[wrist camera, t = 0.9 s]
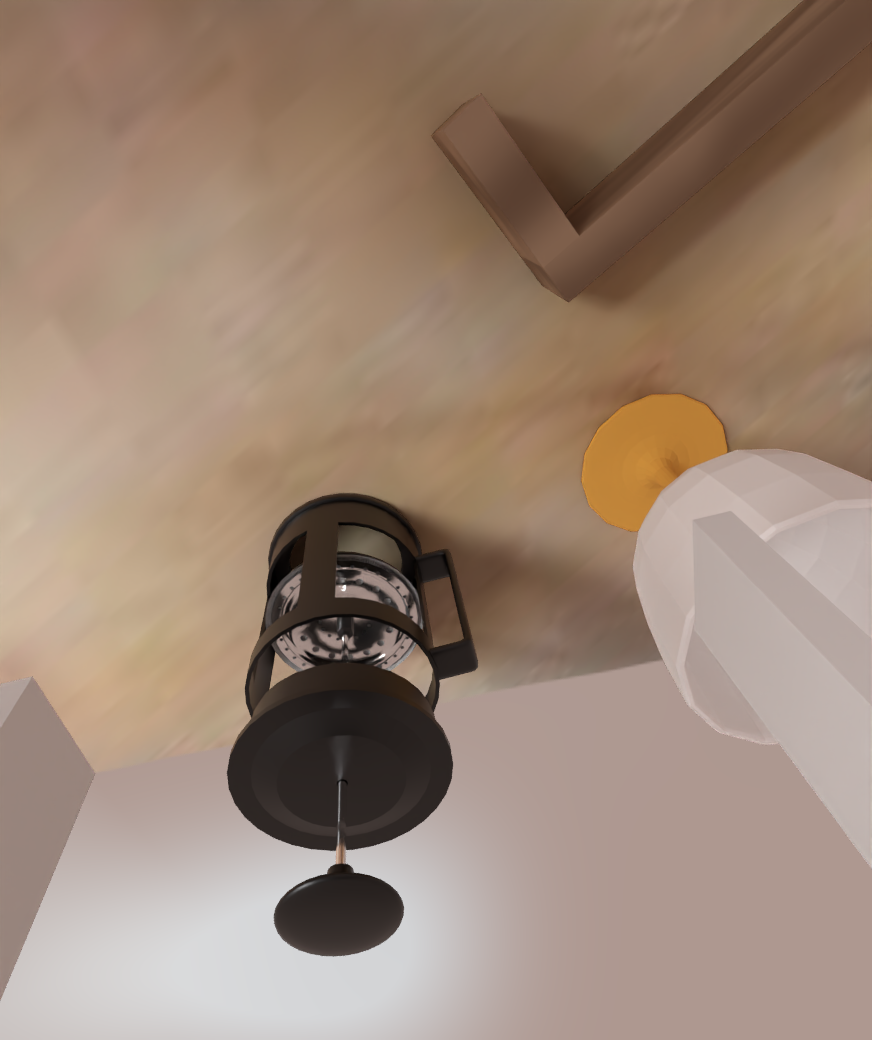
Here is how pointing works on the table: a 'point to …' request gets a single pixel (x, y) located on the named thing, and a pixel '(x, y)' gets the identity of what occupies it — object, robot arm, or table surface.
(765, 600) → the robot arm
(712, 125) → the shelf
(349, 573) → the french press
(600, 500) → the cup
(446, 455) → the table surface
